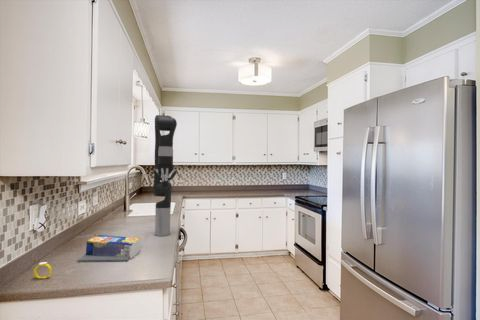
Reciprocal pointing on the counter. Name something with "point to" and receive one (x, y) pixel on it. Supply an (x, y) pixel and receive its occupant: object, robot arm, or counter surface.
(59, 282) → the counter surface
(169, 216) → the robot arm
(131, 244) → the beverage box
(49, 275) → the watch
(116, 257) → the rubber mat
